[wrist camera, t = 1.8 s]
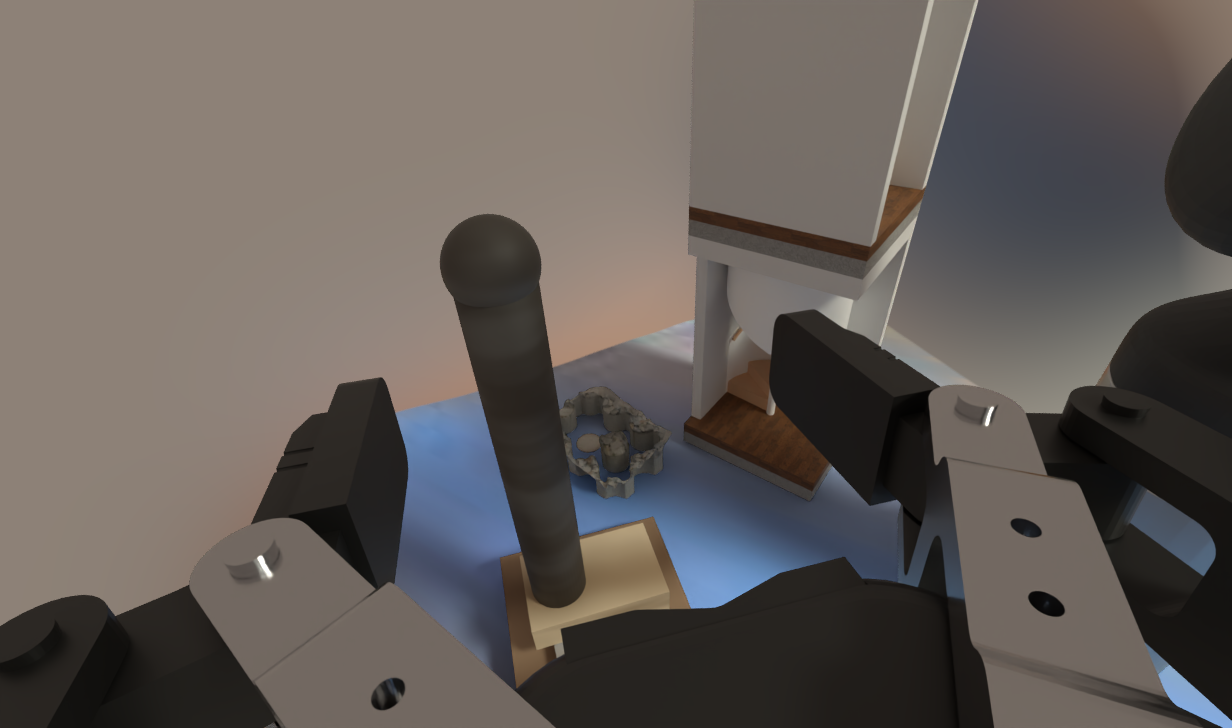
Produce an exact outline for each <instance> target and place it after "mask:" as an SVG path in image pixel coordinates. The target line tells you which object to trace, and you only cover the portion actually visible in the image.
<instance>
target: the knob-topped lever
mask: <svg viewBox="0 0 1232 728" xmlns="http://www.w3.org/2000/svg"><path fill="white" fill-rule="evenodd" d="M440 269H441V275H442V278H443V281H444V283H445V285H446V287H447V289H448V291H449V292H450V293H451V295H452V296H453V297H454V301H455V305H456V308H457V312H458V316H459V320H460V324H461V327H462V331H463V335H464V339H465V342H466V346H467V350H468V353H469V357H470V361H471V365H472V368H473V372H474V376H475V379H476V383H477V387H478V391H479V394H480V398H481V402H482V406H483V409H484V413H485V417H486V421H487V424H488V428H489V432H490V436H491V439H492V443H493V447H494V450H495V454H496V458H497V462H498V465H499V469H500V473H501V477H502V480H503V484H504V488H505V492H506V495H507V499H508V503H509V506H510V510H511V514H512V518H513V521H514V525H515V529H516V533H517V536H518V540H519V544H520V547H521V551H522V555H521V556H520V563H521V569H522V575H523V581H524V588H525V594H526V600H527V607H528V613H529V619H530V626H531V632H532V636H533V639H534V642H535V646H536V649H537V650H539V649H542V648H546V647H549V646H552V645H555V644H559V643H562V635H561V628H565V627H569V626H573V625H577V624H581V623H585V622H589V621H593V620H597V619H601V618H605V617H609V616H613V615H617V614H621V613H625V612H629V611H632V610H646V609H669V599H670V592H669V589H668V586H667V584H666V581H665V579H664V576H663V573H662V571H661V568H660V566H659V563H658V560H657V558H656V555H655V553H654V550H653V548H652V545H651V542H650V540H649V537H648V535H647V532H646V529H645V527H644V524H643V523H640V524H636V525H632V526H629V527H625V528H621V529H617V530H614V531H610V532H606V533H603V534H599V535H595V536H591V537H588V538H584V539H580V538H579V532H578V526H577V519H576V513H575V507H574V501H573V494H572V488H571V482H570V475H569V469H568V463H567V456H566V450H565V444H564V437H563V431H562V425H561V418H560V412H559V406H558V399H557V393H556V387H555V380H554V374H553V368H552V362H551V355H550V349H549V343H548V336H547V330H546V324H545V317H544V311H543V305H542V299H541V292H540V286H539V279H540V275H541V258H540V254H539V250H538V247H537V245H536V243H535V241H534V239H533V238H532V236H531V235H530V234H529V233H528V232H527V230H526V229H525V228H524V227H522V226H521V225H520V224H518V223H517V222H515V221H513V220H511V219H510V218H507V217H504V216H501V215H494V214H483V215H477V216H474V217H471V218H468V219H466V220H465V221H463V222H461V223H460V224H458V225H457V226H456V227H455V228H454V229H453V230H452V231H451V232H450V234H449V235H448V237H447V238H446V240H445V242H444V244H443V247H442V250H441V256H440Z"/></svg>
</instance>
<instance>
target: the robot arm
mask: <svg viewBox="0 0 1232 728" xmlns="http://www.w3.org/2000/svg"><path fill="white" fill-rule="evenodd" d="M1165 195H1166V201H1167V204H1168V206H1169V209H1170V212H1171V214H1172V217H1173V218H1174V220H1175V221H1176V222H1177V223H1178V225H1179V226H1180V227H1181V228H1182V230H1183V231H1184V232H1185V233H1186V234H1187V235H1189V236H1190V237H1192V238H1193V239H1194V240H1196V241H1197V242H1199V243H1200V244H1201V245H1203V246H1205V247H1207V248H1209V249H1211V250H1214V251H1216V252H1218V253H1221V254H1224V255H1227V256H1231V257H1232V59H1231V60H1230V61H1229V62H1228V63H1227V64H1226V66H1225V67H1224V68H1223V69H1222V70H1221V71H1220V73H1219V74H1218V75H1217V76H1216V77H1215V78H1214V80H1213V81H1212V82H1211V83H1210V85H1209V86H1208V87H1207V89H1206V90H1205V92H1204V93H1203V94H1202V96H1201V97H1200V98H1199V100H1198V101H1197V103H1196V104H1195V105H1194V107H1193V109H1192V110H1191V112H1190V114H1189V115H1188V117H1187V119H1186V121H1185V123H1184V124H1183V126H1182V128H1181V130H1180V132H1179V134H1178V136H1177V138H1176V141H1175V143H1174V145H1173V147H1172V150H1171V153H1170V156H1169V159H1168V163H1167V167H1166V172H1165ZM769 386H770V392H771V395H772V398H773V400H774V402H775V404H776V405H777V407H778V408H779V409H780V410H781V411H782V412H783V413H784V414H785V415H786V416H787V417H788V419H789V420H790V421H791V422H792V423H793V424H794V425H795V426H796V427H797V428H798V429H799V430H800V431H801V432H802V434H803V435H804V436H805V437H806V438H807V439H808V440H809V441H810V442H811V443H812V444H813V445H814V446H815V448H816V449H817V450H818V451H819V452H820V453H821V454H822V455H823V456H824V457H825V458H826V459H827V460H828V462H829V463H830V464H831V465H832V466H833V467H834V468H835V469H836V470H837V471H838V472H839V473H840V474H841V476H842V477H843V478H844V479H845V480H846V481H847V482H848V483H849V484H850V485H851V486H852V487H853V488H854V489H855V491H856V492H857V493H858V494H859V495H860V496H861V497H862V498H863V499H864V500H865V501H866V502H867V503H868V505H869V506H872V505H876V504H880V503H884V502H889V501H893V500H898V501H899V502H900V503H901V507H900V510H899V514H898V520H897V523H898V582H893V581H887V580H878V579H862V578H861V577H860V576H859V574H858V573H857V572H856V571H855V569H854V568H853V567H852V566H851V564H850V563H849V562H848V560H847V559H846V558H845V557H842V558H838V559H834V560H830V561H826V562H822V563H818V564H814V565H810V566H806V567H802V568H798V569H794V570H790V571H786V572H782V573H779V574H777V575H776V576H774V577H772V578H770V579H769V580H767V581H765V582H763V583H761V584H760V585H758V586H756V587H754V588H753V589H751V590H749V591H747V592H746V593H744V594H742V595H740V596H738V597H737V598H735V599H733V600H731V601H730V602H728V603H726V604H724V605H722V606H719V607H716V608H698V609H646V610H632V611H629V612H625V613H621V614H617V615H613V616H609V617H605V618H601V619H597V620H593V621H589V622H585V623H581V624H577V625H573V626H569V627H565V628H561V635H562V642H563V648H564V654H563V655H562V656H560V657H558V658H556V659H554V660H552V661H551V662H549V663H548V664H546V665H545V666H543V667H542V668H541V669H539V670H538V671H536V672H535V673H534V674H532V675H531V676H530V677H529V678H528V679H527V680H526V681H524V682H523V683H522V684H521V685H520V686H519V687H518V688H517V689H516V690H515V691H514V690H513V689H512V688H511V687H510V686H508V685H507V684H506V683H505V682H504V681H503V680H502V679H501V678H500V677H498V676H497V675H496V674H495V673H494V672H493V671H492V670H491V669H489V668H488V667H487V666H486V665H485V664H484V663H483V662H482V661H480V660H479V659H478V658H477V657H476V656H475V655H474V654H473V653H472V652H470V651H469V650H468V649H467V648H466V647H465V646H464V645H463V644H461V643H460V642H459V641H458V640H457V639H456V638H455V637H454V636H453V635H451V634H450V633H449V632H448V631H447V630H446V629H445V628H444V627H442V626H441V625H440V624H439V623H438V622H437V621H436V620H435V619H433V618H432V617H431V616H430V615H429V614H428V613H427V612H426V611H425V610H423V609H422V608H421V607H420V606H419V605H418V604H417V603H416V602H414V601H413V600H412V599H411V598H410V597H409V596H408V595H407V594H406V593H404V592H403V591H402V590H401V589H400V588H399V587H397V586H396V585H394V582H395V575H396V567H397V559H398V551H399V543H400V535H401V528H402V520H403V512H404V504H405V496H406V489H407V481H408V461H407V454H406V449H405V444H404V441H403V438H402V434H401V431H400V428H399V424H398V421H397V417H396V414H395V411H394V407H393V404H392V401H391V397H390V394H389V391H388V388H387V385H386V383H385V381H384V379H383V378H374V379H367V380H362V381H356V382H349V383H342V384H339V385H338V387H337V389H336V392H335V394H334V397H333V399H332V402H331V405H330V407H329V410H328V412H327V413H321V414H315V415H312V416H311V417H309V418H308V419H307V420H306V421H305V422H304V423H303V424H302V425H301V426H300V427H299V428H298V429H297V430H296V431H294V432H293V434H292V435H291V438H290V440H289V442H288V444H287V446H286V448H285V451H284V456H282V457H281V460H280V462H279V464H278V466H277V468H276V469H277V472H276V473H274V475H273V477H272V479H271V481H270V484H269V486H268V488H267V490H266V492H265V495H264V497H263V499H262V501H261V503H260V505H259V508H258V510H257V512H256V514H255V516H254V518H253V521H252V523H251V525H249V526H247V527H244V528H242V529H241V530H238V531H236V532H234V533H232V534H231V535H229V536H227V537H226V538H224V539H223V540H221V541H220V542H219V543H217V544H216V545H214V546H213V547H212V548H211V549H210V550H209V551H208V552H207V553H206V554H205V555H204V556H203V557H202V558H201V559H200V561H199V562H198V563H197V565H196V566H195V568H194V570H193V572H192V574H191V577H190V581H189V584H190V585H188V586H186V587H183V588H181V589H179V590H177V591H175V592H172V593H170V594H168V595H165V596H163V597H160V598H158V599H156V600H153V601H151V602H148V603H146V604H144V605H141V606H139V607H137V608H134V609H132V610H129V611H127V612H124V613H122V614H120V615H117V616H115V615H114V614H113V613H112V611H111V610H110V609H109V608H108V606H107V605H106V603H105V602H104V601H103V600H101V599H100V598H98V597H95V596H89V595H78V596H70V597H65V598H61V599H58V600H54V601H51V602H48V603H45V604H43V605H40V606H38V607H35V608H33V609H31V610H29V611H27V612H24V613H22V614H21V615H19V616H17V617H15V618H13V619H11V620H10V621H8V622H6V623H5V624H3V625H1V626H0V728H264V727H266V726H268V725H269V724H271V723H274V725H275V726H276V728H1222V727H1220V726H1218V725H1216V724H1214V723H1212V722H1209V721H1207V720H1205V719H1203V718H1201V717H1199V716H1197V715H1195V714H1192V713H1190V712H1188V711H1186V710H1184V709H1182V708H1180V707H1178V706H1176V705H1175V704H1174V703H1173V702H1172V701H1171V700H1170V698H1169V697H1168V695H1167V694H1166V692H1165V690H1164V688H1163V686H1162V683H1161V681H1160V678H1159V676H1158V674H1159V673H1160V672H1161V671H1163V670H1164V669H1165V668H1166V667H1167V666H1168V665H1170V666H1172V667H1173V668H1174V669H1175V670H1176V671H1177V672H1178V673H1179V674H1180V675H1182V676H1183V677H1184V678H1185V679H1186V680H1187V681H1188V682H1189V683H1190V684H1192V685H1193V686H1194V687H1195V688H1196V689H1197V690H1198V691H1199V692H1200V693H1202V694H1203V695H1204V696H1205V697H1206V698H1207V699H1208V700H1209V701H1210V702H1212V703H1213V704H1214V705H1215V706H1216V707H1217V708H1218V709H1219V710H1220V711H1222V712H1223V713H1224V714H1225V715H1226V716H1227V717H1228V718H1229V719H1230V720H1232V289H1230V290H1226V291H1220V292H1215V293H1210V294H1204V295H1199V296H1194V297H1189V298H1184V299H1180V300H1176V301H1173V302H1170V303H1167V304H1164V305H1161V306H1159V307H1157V308H1155V309H1153V310H1151V311H1149V312H1148V313H1146V314H1145V315H1144V316H1142V317H1141V318H1140V319H1139V320H1138V321H1137V322H1136V323H1135V324H1134V325H1133V326H1132V328H1131V329H1130V330H1129V332H1128V333H1127V335H1126V336H1125V338H1124V339H1123V341H1122V343H1121V344H1120V346H1119V348H1118V349H1117V351H1116V353H1115V354H1114V356H1113V358H1112V360H1111V361H1110V363H1109V365H1108V366H1107V368H1106V370H1105V371H1104V373H1103V374H1102V376H1101V378H1100V379H1099V381H1098V383H1097V384H1096V386H1085V387H1080V388H1077V389H1075V390H1073V391H1072V392H1071V393H1070V395H1069V398H1068V401H1067V403H1066V405H1065V408H1064V410H1063V413H1062V414H1050V413H1049V414H1047V413H1025V412H1024V410H1023V409H1022V408H1021V406H1020V405H1018V404H1017V403H1016V402H1015V401H1013V400H1011V399H1010V398H1008V397H1006V396H1004V395H1002V394H999V393H997V392H994V391H991V390H988V389H984V388H980V387H975V386H968V385H947V386H942V387H940V386H939V385H937V384H936V383H934V382H933V381H931V380H930V379H928V378H927V377H925V376H924V375H922V374H921V373H919V372H918V371H916V370H915V369H913V368H912V367H910V366H909V365H907V364H906V363H904V362H903V361H901V360H900V359H897V360H896V358H895V356H894V355H892V354H891V353H889V352H888V351H886V350H885V349H884V350H882V349H881V347H880V346H879V345H877V344H876V343H874V342H873V341H871V340H870V339H868V338H867V337H865V336H864V335H861V334H858V333H855V332H853V331H850V330H847V329H844V328H842V327H841V326H839V325H838V324H836V323H835V322H834V321H832V320H831V319H829V318H828V317H826V316H825V315H823V314H822V313H820V312H819V311H817V310H815V309H810V310H804V311H798V312H792V313H785V314H780V315H779V316H778V317H777V318H776V320H775V323H774V329H773V340H772V351H771V362H770V373H769Z"/></svg>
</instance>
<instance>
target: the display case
mask: <svg viewBox="0 0 1232 728" xmlns="http://www.w3.org/2000/svg"><path fill="white" fill-rule="evenodd" d="M977 3H978V0H694V23H693V67H692V108H691V151H690V155H691V156H690V194H689V237H688V254H689V255H693V256H696V257H697V267H696V268H697V269H696V297H695V326H694V356H693V386H692V415H691V417H690V418H689V419H688V420H687V421H686V422H685V423H684V441H686V442H688V443H690V444H692V445H694V446H696V447H698V448H700V449H702V450H704V451H706V452H708V453H711V454H713V455H715V456H717V457H719V458H721V459H723V460H725V461H727V462H729V463H731V464H733V465H735V466H737V467H739V468H742V469H744V470H746V471H748V472H750V473H752V474H754V475H756V476H758V477H760V478H762V479H764V480H766V481H768V482H770V483H773V484H775V485H777V486H779V487H781V488H783V489H785V490H787V491H789V492H791V493H793V494H795V495H797V496H799V497H802V498H804V499H806V500H808V501H811V499H812V498H813V496H814V494H815V493H816V491H817V490H818V488H819V486H820V485H821V483H822V481H823V480H824V478H825V477H826V475H827V473H828V472H829V470H830V469H831V467H832V465H831V464H830V463H829V462H828V460H827V459H826V458H825V457H824V456H823V455H822V454H821V453H820V452H819V451H818V450H817V449H816V448H815V446H814V445H813V444H812V443H811V442H810V441H809V440H808V439H807V438H806V437H805V436H804V435H803V434H802V432H801V431H800V430H799V429H798V428H797V427H796V426H795V425H794V424H793V423H792V422H791V421H790V420H789V419H788V417H787V416H786V415H785V414H784V413H783V412H782V411H781V410H780V409H779V408H778V407H777V405H776V404H775V402H774V400H773V398H772V395H771V392H770V386H769V373H770V362H771V351H772V340H773V329H774V323H775V320H776V318H777V317H778V316H779V315H780V314H785V313H792V312H798V311H804V310H810V309H815V310H817V311H819V312H820V313H822V314H823V315H825V316H826V317H828V318H829V319H831V320H832V321H834V322H835V323H836V324H838V325H839V326H841V327H842V328H844V329H847V330H850V331H853V332H855V333H858V334H861V335H864V336H865V337H867V338H868V339H870V340H871V341H873V342H874V343H876V344H877V345H879V346H880V347H881V343H882V340H883V336H884V333H885V329H886V326H887V322H888V318H889V315H890V311H891V308H892V304H893V301H894V297H895V294H896V290H897V286H898V283H899V280H900V276H901V272H902V269H903V265H904V262H905V258H906V255H907V251H908V248H909V244H910V241H911V237H912V234H913V230H914V226H915V223H916V219H917V216H918V212H919V209H920V205H921V202H922V198H923V194H924V191H925V187H926V184H927V180H928V177H929V173H930V170H931V166H932V163H933V159H934V156H935V152H936V148H937V145H938V141H939V138H940V134H941V131H942V127H943V124H944V120H945V117H946V113H947V109H948V106H949V102H950V99H951V95H952V92H953V88H954V85H955V81H956V77H957V73H958V70H959V67H960V63H961V60H962V56H963V53H964V49H965V46H966V42H967V39H968V35H969V31H970V28H971V24H972V21H973V17H974V14H975V10H976V7H977Z"/></svg>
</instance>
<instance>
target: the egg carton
mask: <svg viewBox="0 0 1232 728" xmlns="http://www.w3.org/2000/svg"><path fill="white" fill-rule="evenodd" d="M559 412H560V418H561V425H562V431H563V437H564V444H565V450H566V455H567V460H568V464H569V470H570V472H572V473H574V474H576V475H578V476H582V475H587V474H589V475H591V476H592V477H593V478H594V479H596V486H597V493H598V494H599V495H600V496H601V497H603V498H605V499H607V498H610V497H613V496H618V497H622V498H625V499H627V498H629V497H630V496H631V495H632V494H633V493H634V492H635V491H634V476H635V475H637V474H640V473H649V474H652V475H656V474H658V473H659V472H660V471H661V470H662V469H663V450H662V449H663V447H664V445H665V443H666V442H667V440H668V439H669V437H670V435H671V434H672V433H671V431H668V430H666V429H664V428H662V427H660V426H656V425H655V424H653V423H652V422H651V419H647V418H646V417H645V416H644V414H643V413H642V411H639V410H636V409H635V408H633V407H632V406H631V405H629V404H628V403H626V402H624V401H623V400H621V399H620V398H619V397H618V396H617V395H616V394H615V393H613V392H612V391H611V390H610V389H608V388H606V387H593V388H589V389H588V390H586V391H584V392H579V395H578V396H577V397H575V398H574V399H572V400H569V399H567V400H566V401H565V403H564V407H563V408H562V409H560V410H559ZM598 413H602V414H603V420H604V427H605V428H606V429H607V430H608V431H611V433H608V434H606V435H601V436H600V437H599V436H598V435H596V434H592V433H591V434H585V435H582V436H581V437H580V438H578V440H577V443H576V444H577V448H578V449H579V450H581V451H583V452H587V453H589V452H594V451H596V450H598V449H599V448H600V447H601V454H602V463H603V467H604V468H605V469H606V470H607V471H609V472H612V473H619V472H622V471H624V470H626V469H627V468H628V466H629V443H628V441H627V438H626V436H625V434H624V433H623V432H622V431H624V430H627V431H629V432H630V443H631V446H632V447H633V448H634V449H636V450H639V451H646V452H644V453H643V454H638V453H637V454H634V455H633V456H631V463H630V469H629V472H630V478H629V479H628V480H626V481H622V480H621V479H619V478H618V477H614V478H610V477H608V478H607V481H606V482H603V481H602V480H600V473H599V465H598V463H597V461H596V458H595V456H593V455H591V456H590V457H589V458H587V459H583V458H578V459H574V458H573V453H572V447H571V446H572V443H571V439H570V438H569V437H568V436H567V434H568V433H571V432H572V431H574V430H575V428H576V427H577V418H576V417H578V416H580V415H582V414H585V415H590V416H591V415H596V414H598ZM651 449H653V450H651Z"/></svg>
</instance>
